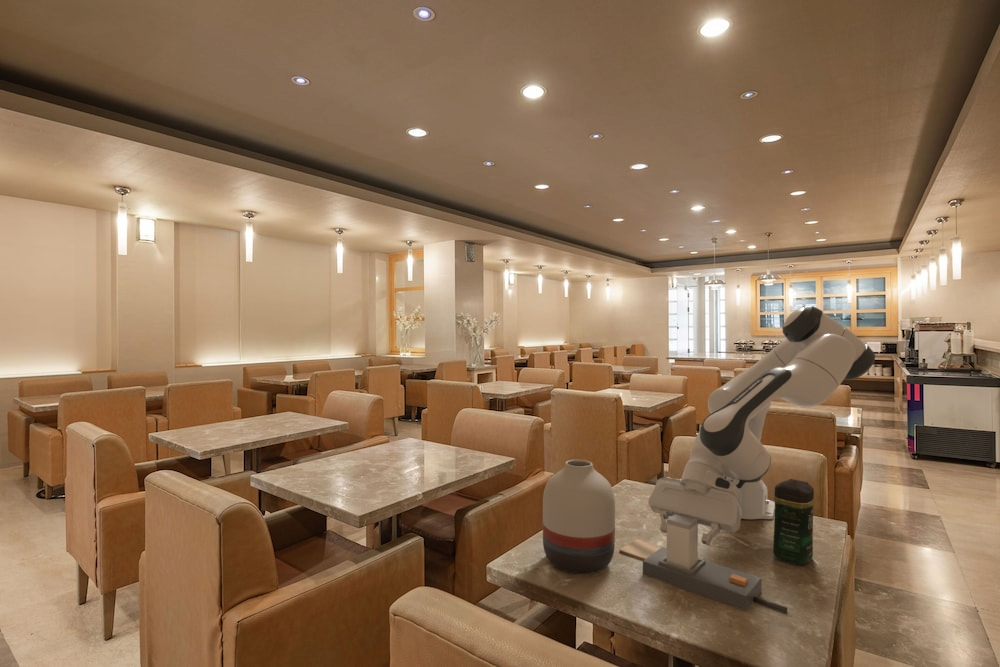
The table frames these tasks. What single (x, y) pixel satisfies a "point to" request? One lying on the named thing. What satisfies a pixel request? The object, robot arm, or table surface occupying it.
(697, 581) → the power strip
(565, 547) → the vase
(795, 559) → the coffee jar
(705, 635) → the table surface
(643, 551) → the coaster
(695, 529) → the block
